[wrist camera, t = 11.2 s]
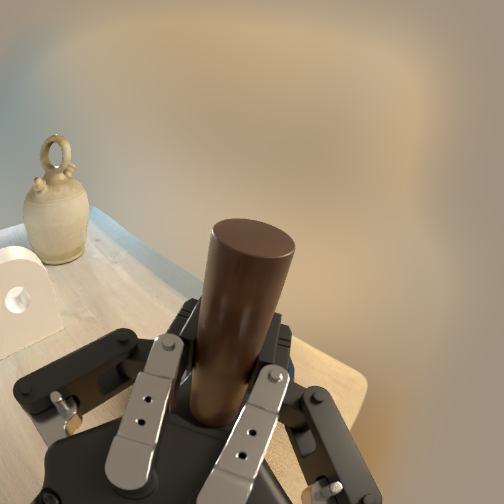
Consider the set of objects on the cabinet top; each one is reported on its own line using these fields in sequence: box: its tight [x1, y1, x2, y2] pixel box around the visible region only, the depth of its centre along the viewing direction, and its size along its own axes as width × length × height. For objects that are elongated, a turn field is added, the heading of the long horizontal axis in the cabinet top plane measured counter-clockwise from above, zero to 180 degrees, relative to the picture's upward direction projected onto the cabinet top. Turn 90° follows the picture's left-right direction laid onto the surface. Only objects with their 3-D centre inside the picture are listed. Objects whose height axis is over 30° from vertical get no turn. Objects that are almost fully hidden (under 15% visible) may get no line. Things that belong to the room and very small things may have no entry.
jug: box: [23, 135, 89, 265], centre depth 44 cm, size 15×16×25 cm
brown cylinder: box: [174, 219, 295, 432], centre depth 12 cm, size 5×4×14 cm
